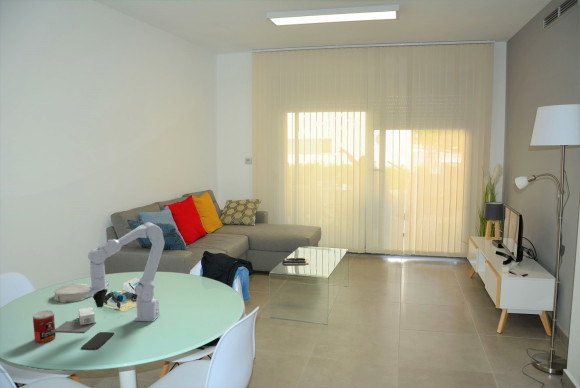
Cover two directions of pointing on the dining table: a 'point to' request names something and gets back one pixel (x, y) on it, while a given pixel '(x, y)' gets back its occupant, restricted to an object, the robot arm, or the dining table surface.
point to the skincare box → (86, 316)
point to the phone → (97, 341)
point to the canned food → (44, 326)
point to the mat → (74, 327)
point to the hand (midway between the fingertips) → (100, 306)
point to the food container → (72, 292)
